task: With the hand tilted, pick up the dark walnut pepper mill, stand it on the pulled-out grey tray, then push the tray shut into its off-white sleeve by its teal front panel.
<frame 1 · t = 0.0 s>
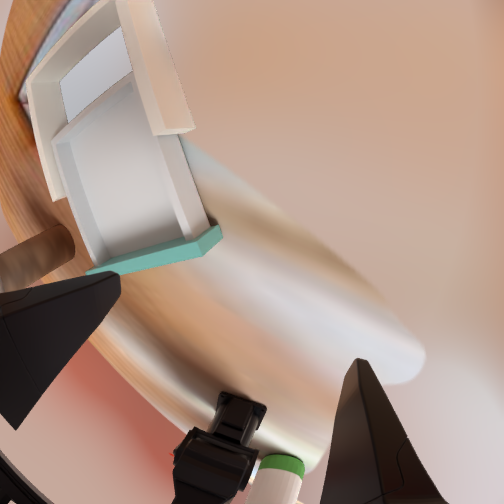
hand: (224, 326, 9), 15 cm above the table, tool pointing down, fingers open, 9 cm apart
grey tray: (115, 183, 23), point 2 cm above the table, slide at 8.0 cm
pepper mill: (63, 242, 33), on the table
wine bottle: (284, 460, 39), on the table
tray sleeve: (132, 178, 25), on the table
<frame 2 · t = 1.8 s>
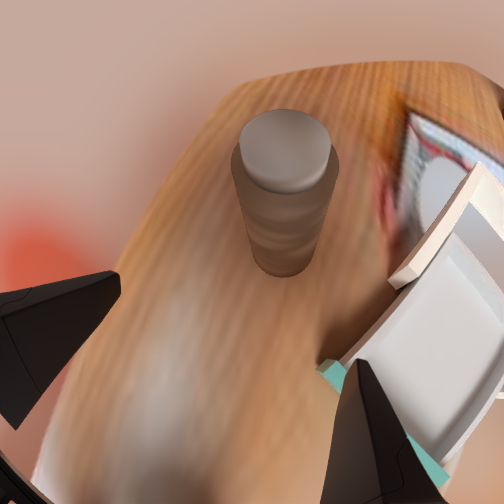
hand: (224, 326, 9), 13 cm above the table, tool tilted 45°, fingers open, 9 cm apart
grey tray: (449, 358, 17), point 2 cm above the table, slide at 8.0 cm
pepper mill: (283, 247, 24), on the table
tray sleeve: (434, 358, 20), on the table
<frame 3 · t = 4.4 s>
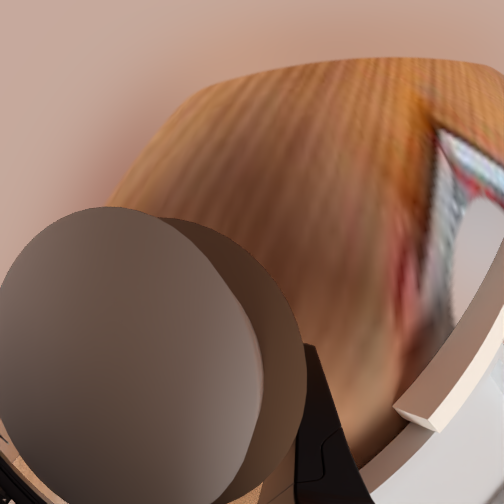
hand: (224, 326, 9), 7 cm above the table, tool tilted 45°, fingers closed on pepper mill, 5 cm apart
grey tray: (453, 500, 8), point 3 cm above the table, slide at 8.0 cm
pepper mill: (237, 360, 15), on the table, touching gripper
tray sleeve: (436, 488, 10), on the table
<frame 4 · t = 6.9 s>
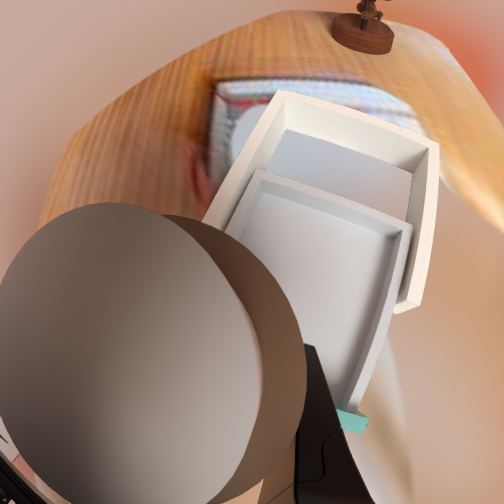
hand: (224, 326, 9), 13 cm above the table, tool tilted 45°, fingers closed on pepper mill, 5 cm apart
grey tray: (301, 291, 20), point 2 cm above the table, slide at 8.0 cm
pepper mill: (237, 359, 15), point 7 cm above the table, touching gripper
music box: (361, 42, 35), on the table
tray sleeve: (298, 298, 23), on the table
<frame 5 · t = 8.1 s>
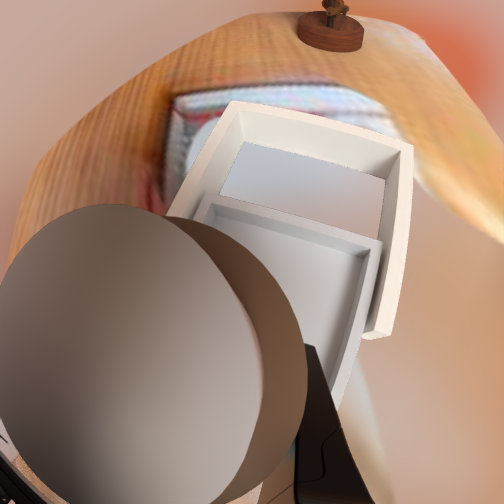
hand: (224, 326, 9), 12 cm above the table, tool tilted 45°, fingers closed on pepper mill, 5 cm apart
grey tray: (256, 325, 19), point 3 cm above the table, slide at 8.0 cm
pepper mill: (237, 359, 15), point 5 cm above the table, touching gripper
music box: (330, 40, 35), on the table
tray sleeve: (258, 328, 21), on the table
when the fingers open (10 cm above the table, at t = 9.4 s): pepper mill drops 2 cm, resting on grey tray.
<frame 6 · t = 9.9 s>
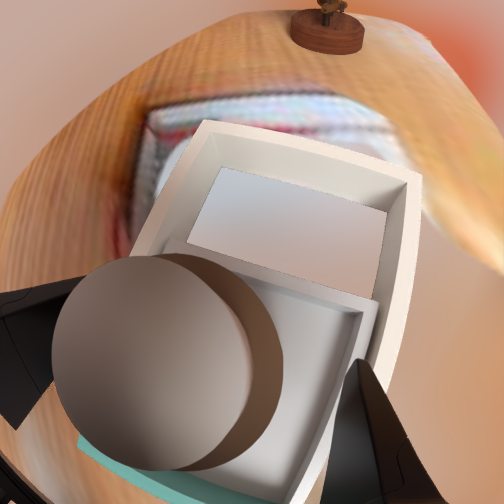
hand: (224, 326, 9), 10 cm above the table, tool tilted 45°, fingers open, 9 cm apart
grey tray: (226, 396, 15), point 2 cm above the table, slide at 7.9 cm, touching pepper mill
pepper mill: (241, 359, 17), point 2 cm above the table, touching grey tray
music box: (326, 41, 31), on the table
tray sleeve: (232, 392, 18), on the table
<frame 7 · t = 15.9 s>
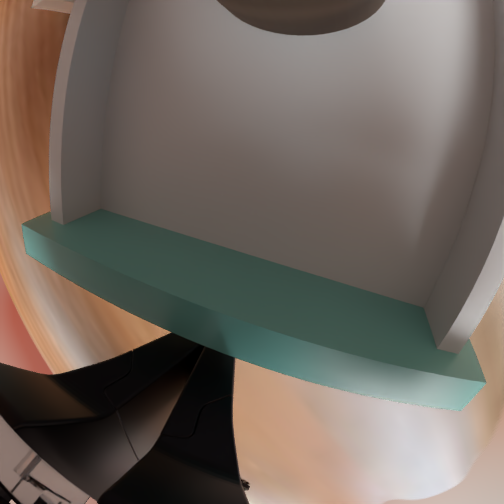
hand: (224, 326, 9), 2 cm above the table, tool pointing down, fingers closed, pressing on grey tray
grey tray: (279, 15, 5), point 2 cm above the table, slide at 7.7 cm, touching gripper, pepper mill
tray sleeve: (294, 51, 7), on the table
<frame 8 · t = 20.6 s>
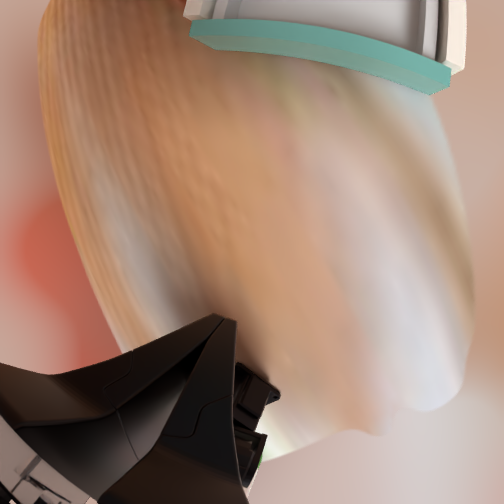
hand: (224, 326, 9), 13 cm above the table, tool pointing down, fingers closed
tray sleeve: (320, 63, 16), on the table
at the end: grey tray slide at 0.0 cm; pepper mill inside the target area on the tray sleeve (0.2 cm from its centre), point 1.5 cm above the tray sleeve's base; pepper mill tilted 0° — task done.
